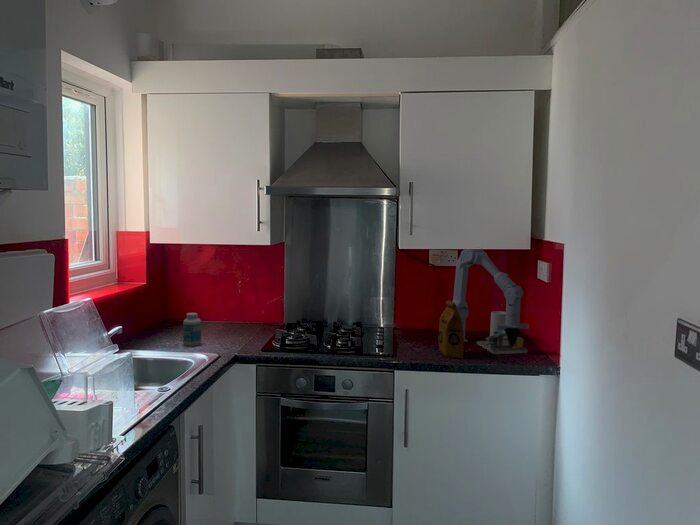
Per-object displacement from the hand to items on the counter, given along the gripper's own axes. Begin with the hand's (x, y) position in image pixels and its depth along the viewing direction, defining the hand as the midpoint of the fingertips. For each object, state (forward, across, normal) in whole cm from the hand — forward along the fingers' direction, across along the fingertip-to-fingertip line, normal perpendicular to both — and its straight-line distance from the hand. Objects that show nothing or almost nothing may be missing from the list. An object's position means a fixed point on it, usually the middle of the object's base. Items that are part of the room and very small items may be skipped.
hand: (511, 345), depth 228 cm
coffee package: (+3, -28, -2) cm, 28 cm away
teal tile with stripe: (-2, 0, +12) cm, 12 cm away
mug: (+3, +8, +26) cm, 27 cm away
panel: (+3, -2, +6) cm, 7 cm away
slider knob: (+1, +3, 0) cm, 3 cm away
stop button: (0, -6, +6) cm, 8 cm away
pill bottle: (+3, -135, +28) cm, 138 cm away
